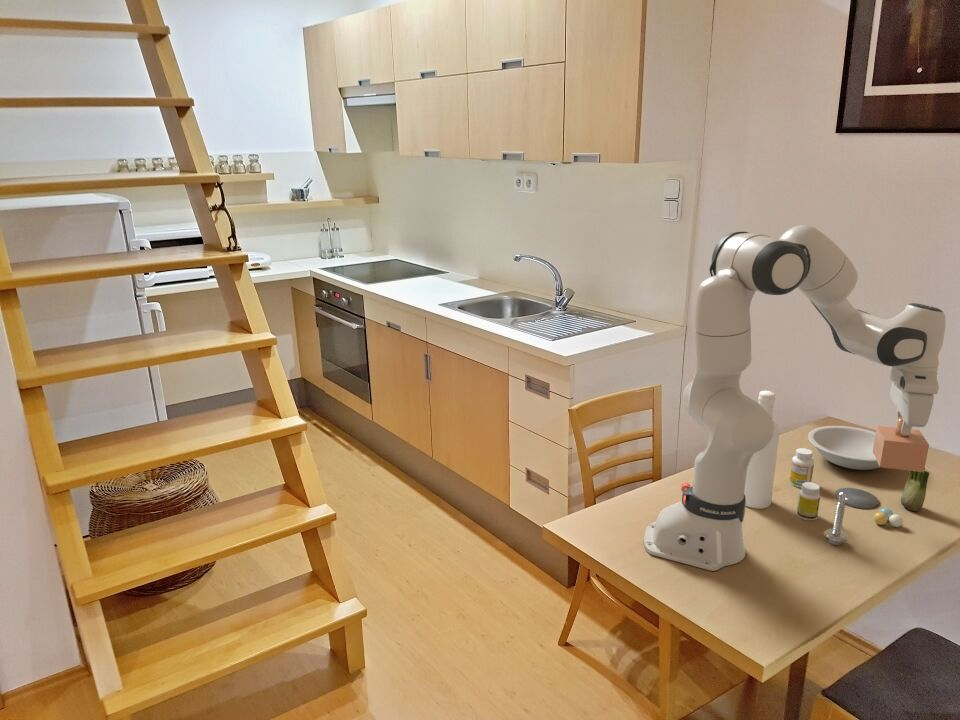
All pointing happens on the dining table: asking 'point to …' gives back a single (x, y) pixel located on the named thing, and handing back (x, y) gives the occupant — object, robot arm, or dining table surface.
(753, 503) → the bottle
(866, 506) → the gray glossy dome
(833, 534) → the screw
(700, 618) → the dining table surface
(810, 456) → the supplement bottle
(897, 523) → the marble ivory
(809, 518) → the supplement bottle
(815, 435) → the soup bowl
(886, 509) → the marble teal
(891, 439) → the terracotta cover
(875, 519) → the marble amber
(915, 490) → the fennel bulb
